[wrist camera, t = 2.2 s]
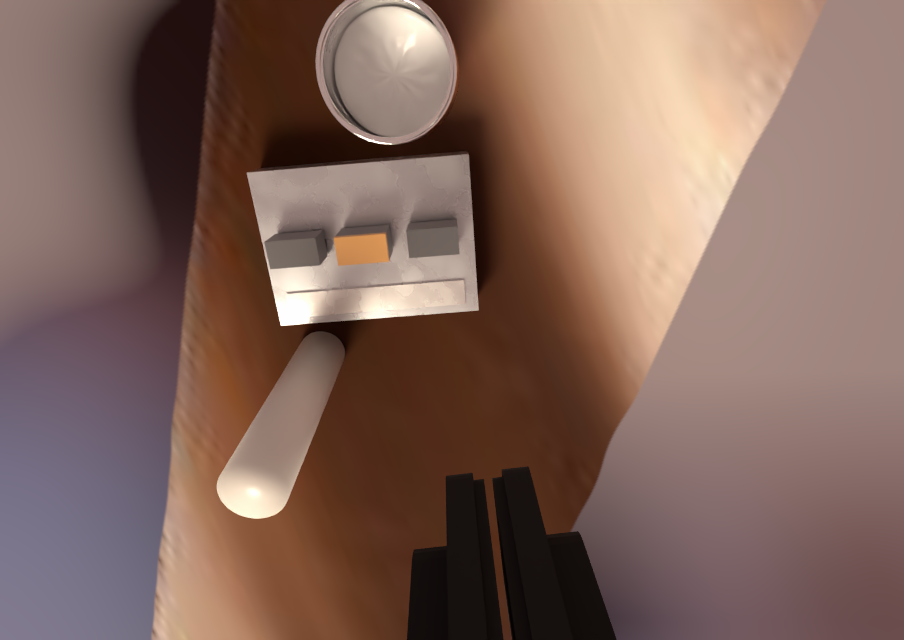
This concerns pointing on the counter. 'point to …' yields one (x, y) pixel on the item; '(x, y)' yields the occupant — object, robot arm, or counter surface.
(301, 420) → the post
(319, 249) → the grey rectangular box
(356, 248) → the paddle mid
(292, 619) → the counter surface
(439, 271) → the breaker panel
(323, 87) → the beer glass
